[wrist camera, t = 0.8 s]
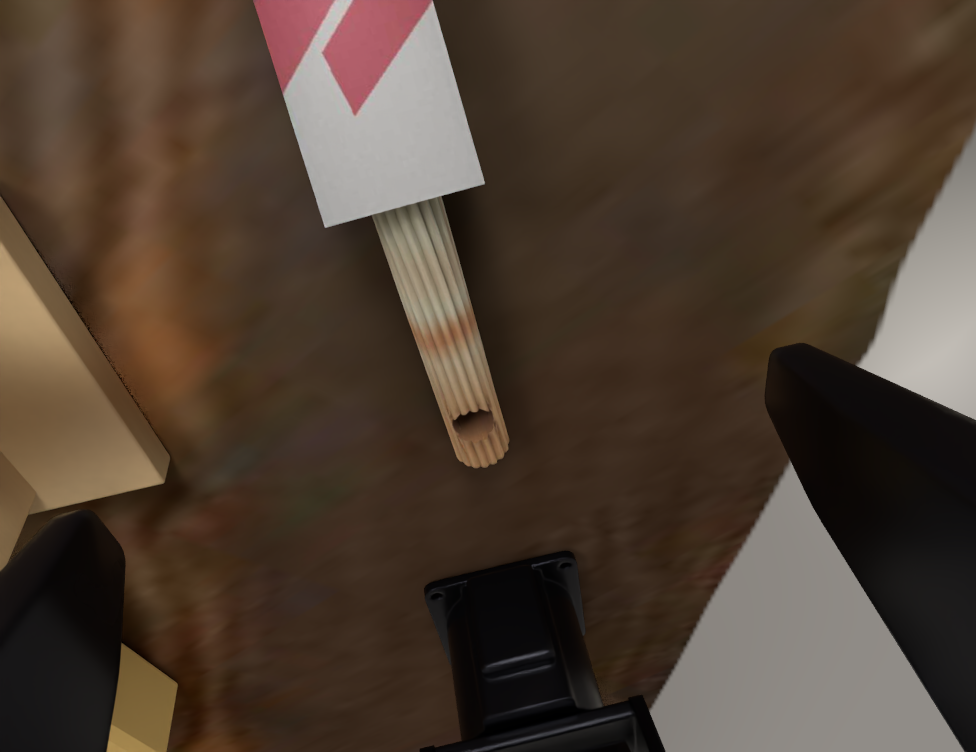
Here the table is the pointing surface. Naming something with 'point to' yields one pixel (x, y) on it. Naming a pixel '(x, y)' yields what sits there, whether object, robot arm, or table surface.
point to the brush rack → (59, 401)
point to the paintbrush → (394, 174)
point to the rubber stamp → (141, 706)
